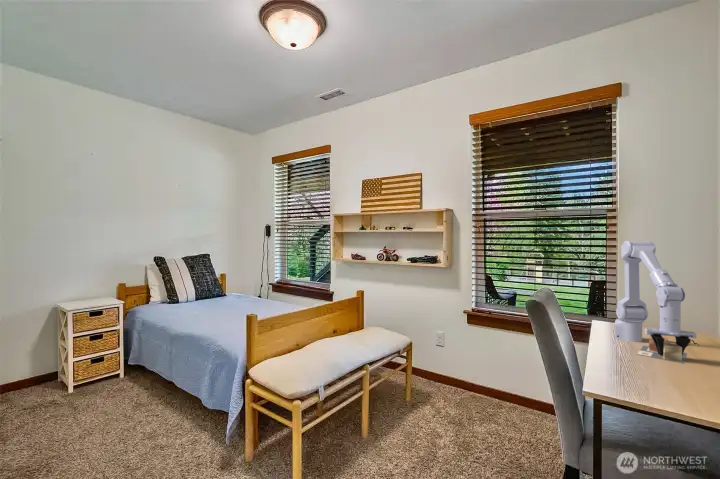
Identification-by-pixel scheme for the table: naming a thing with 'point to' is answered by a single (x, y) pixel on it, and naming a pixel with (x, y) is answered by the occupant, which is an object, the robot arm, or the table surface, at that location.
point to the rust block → (652, 345)
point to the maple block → (672, 352)
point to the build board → (652, 354)
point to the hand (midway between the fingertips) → (669, 355)
